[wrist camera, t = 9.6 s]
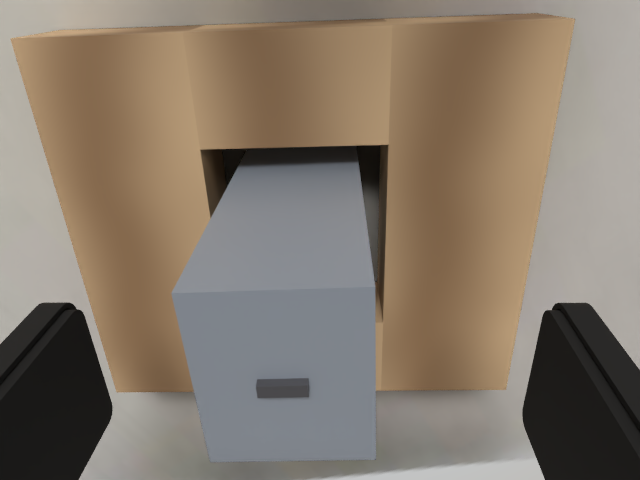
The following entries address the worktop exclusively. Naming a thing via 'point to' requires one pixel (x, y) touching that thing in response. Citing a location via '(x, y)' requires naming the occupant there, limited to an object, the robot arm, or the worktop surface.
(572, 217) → the worktop surface
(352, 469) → the worktop surface
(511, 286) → the socket board
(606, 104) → the worktop surface
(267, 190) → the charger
